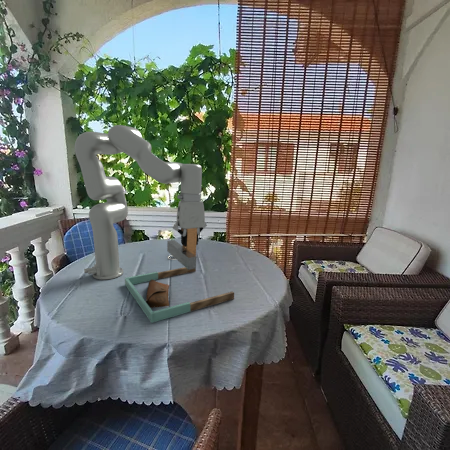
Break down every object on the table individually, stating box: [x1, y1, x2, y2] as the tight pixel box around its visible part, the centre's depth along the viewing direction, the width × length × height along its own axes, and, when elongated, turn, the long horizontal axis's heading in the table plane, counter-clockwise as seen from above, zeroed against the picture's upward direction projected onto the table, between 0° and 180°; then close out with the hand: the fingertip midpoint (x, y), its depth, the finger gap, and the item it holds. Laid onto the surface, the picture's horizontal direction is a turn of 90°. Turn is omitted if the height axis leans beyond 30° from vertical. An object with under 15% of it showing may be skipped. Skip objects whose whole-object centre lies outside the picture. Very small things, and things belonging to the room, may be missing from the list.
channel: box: [157, 266, 235, 312], centre depth 115 cm, size 18×32×2 cm, turn 33°
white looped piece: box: [167, 254, 178, 261], centre depth 150 cm, size 9×8×4 cm
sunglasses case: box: [145, 279, 170, 309], centre depth 108 cm, size 18×7×7 cm
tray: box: [124, 271, 191, 324], centre depth 106 cm, size 14×32×3 cm, turn 33°
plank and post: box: [166, 228, 197, 270], centre depth 110 cm, size 7×20×14 cm, turn 33°
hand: (189, 244), depth 111 cm, fingers closed on plank and post, 4 cm apart
